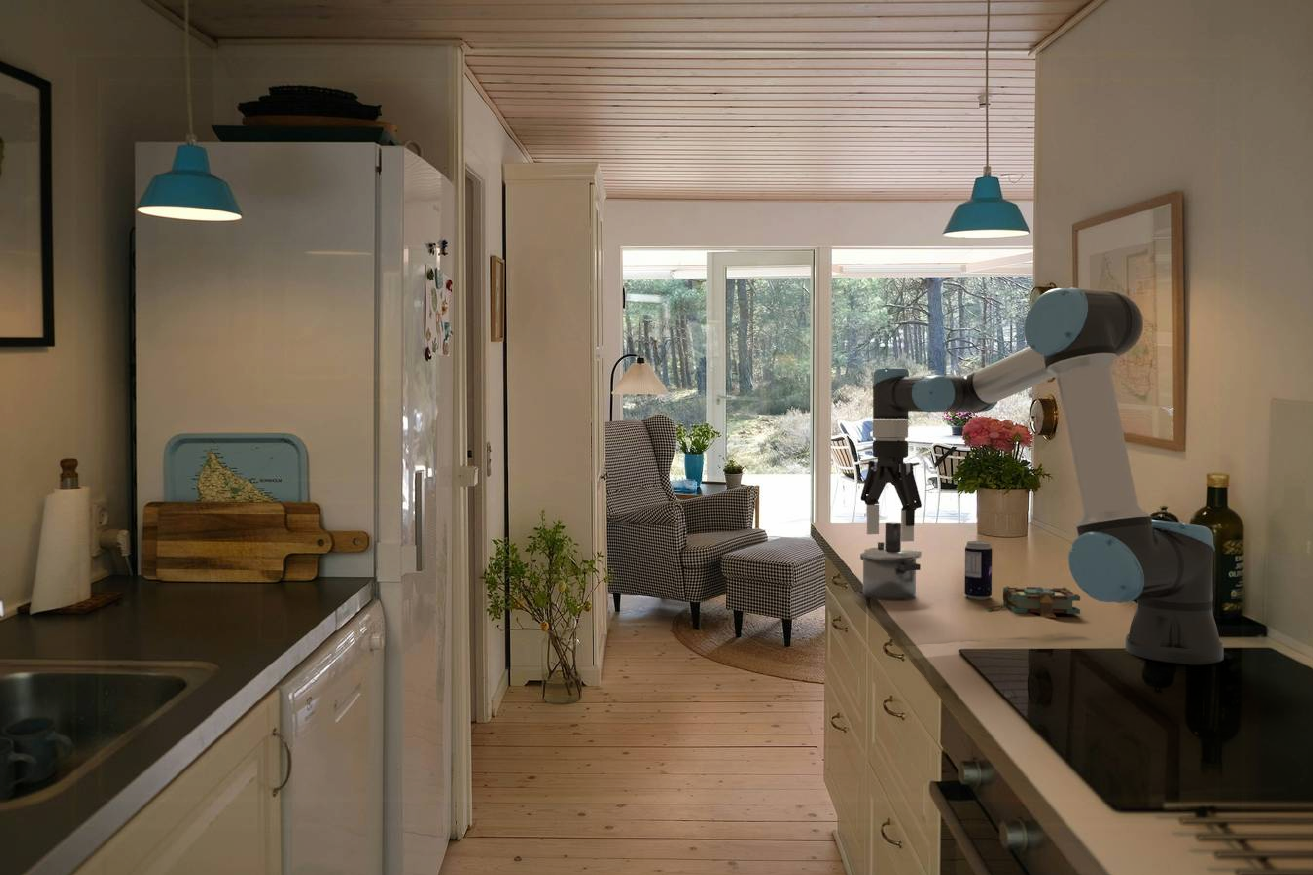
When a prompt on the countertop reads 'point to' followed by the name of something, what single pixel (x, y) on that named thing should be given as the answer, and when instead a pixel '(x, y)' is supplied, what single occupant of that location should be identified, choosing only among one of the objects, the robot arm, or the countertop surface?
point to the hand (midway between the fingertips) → (889, 537)
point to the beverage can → (978, 570)
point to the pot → (889, 578)
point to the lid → (892, 546)
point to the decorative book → (1039, 601)
